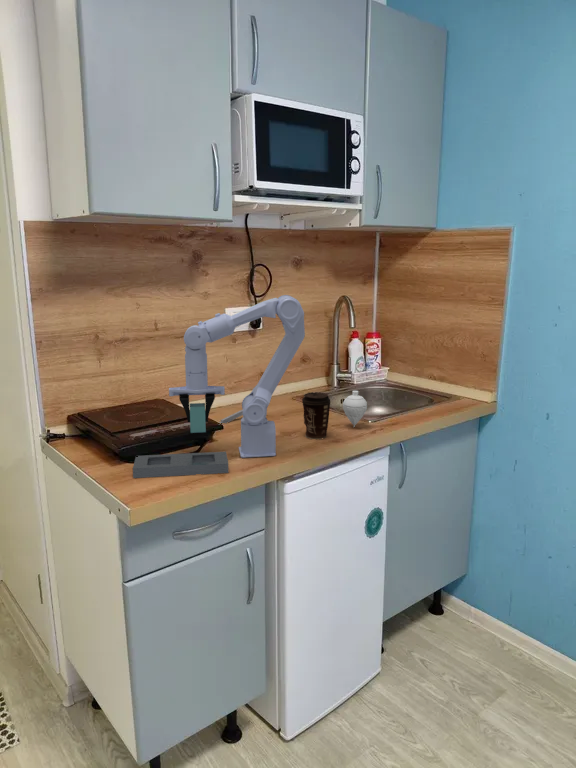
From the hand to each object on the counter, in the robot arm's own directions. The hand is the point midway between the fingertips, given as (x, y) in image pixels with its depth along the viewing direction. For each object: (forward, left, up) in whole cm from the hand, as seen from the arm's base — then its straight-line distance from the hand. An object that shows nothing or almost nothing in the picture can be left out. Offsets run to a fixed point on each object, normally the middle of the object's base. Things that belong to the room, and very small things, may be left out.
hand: (197, 421), depth 151 cm
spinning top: (-49, -18, -10) cm, 53 cm away
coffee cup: (-35, -11, -10) cm, 38 cm away
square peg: (0, 0, -2) cm, 2 cm away
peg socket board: (+4, +10, -9) cm, 15 cm away
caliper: (-15, -34, -10) cm, 38 cm away
